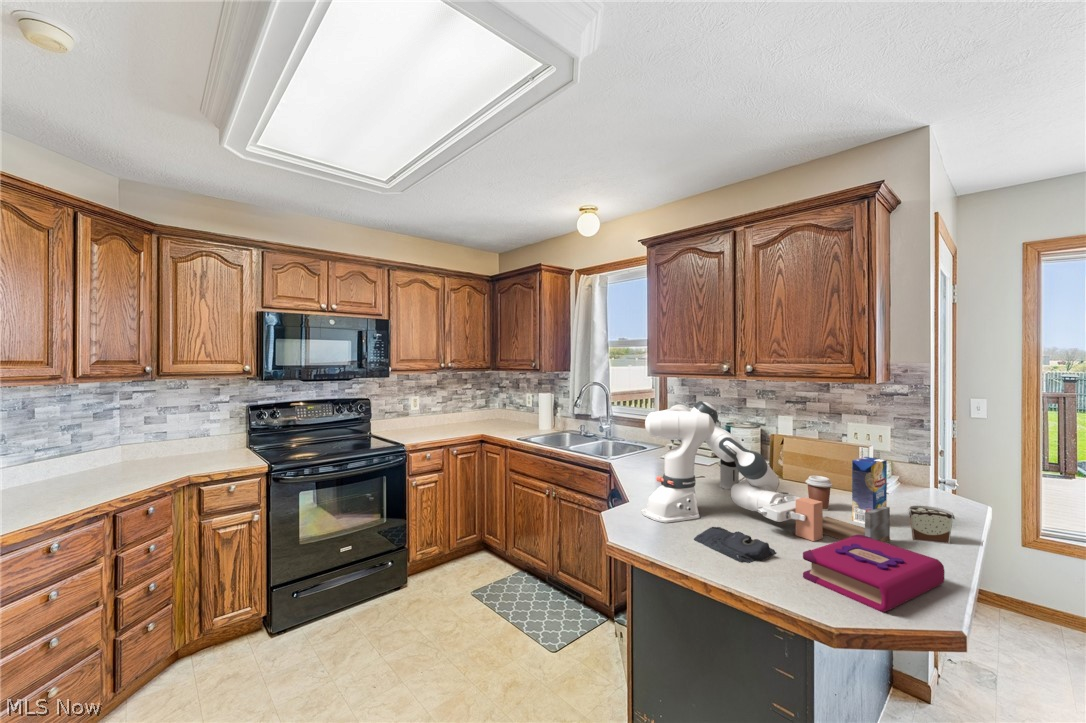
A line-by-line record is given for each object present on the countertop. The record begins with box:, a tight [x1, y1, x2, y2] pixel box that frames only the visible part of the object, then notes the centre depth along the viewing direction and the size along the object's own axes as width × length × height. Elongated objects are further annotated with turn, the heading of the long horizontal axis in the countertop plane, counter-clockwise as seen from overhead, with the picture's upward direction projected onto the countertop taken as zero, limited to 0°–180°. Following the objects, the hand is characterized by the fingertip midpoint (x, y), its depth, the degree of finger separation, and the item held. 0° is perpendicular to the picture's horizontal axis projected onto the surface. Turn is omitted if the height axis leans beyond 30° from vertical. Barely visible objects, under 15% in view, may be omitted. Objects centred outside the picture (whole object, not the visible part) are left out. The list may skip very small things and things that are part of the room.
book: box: [802, 535, 945, 613], centre depth 123 cm, size 21×28×8 cm
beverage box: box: [851, 456, 888, 525], centre depth 168 cm, size 7×11×22 cm, turn 124°
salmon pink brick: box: [795, 496, 824, 542], centre depth 153 cm, size 5×6×12 cm
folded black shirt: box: [693, 526, 776, 564], centre depth 146 cm, size 15×22×5 cm
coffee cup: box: [805, 475, 834, 512], centre depth 181 cm, size 9×9×12 cm
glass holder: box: [718, 458, 746, 490], centre depth 209 cm, size 9×14×15 cm, turn 32°
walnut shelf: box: [822, 506, 891, 543], centre depth 155 cm, size 12×20×11 cm, turn 29°
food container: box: [906, 505, 956, 545], centre depth 151 cm, size 12×6×10 cm, turn 71°
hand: (811, 516), depth 152 cm, fingers closed on salmon pink brick, 5 cm apart
